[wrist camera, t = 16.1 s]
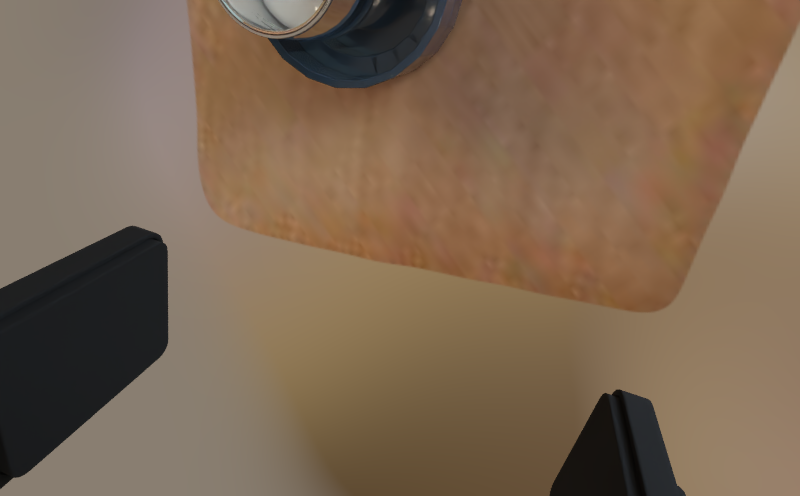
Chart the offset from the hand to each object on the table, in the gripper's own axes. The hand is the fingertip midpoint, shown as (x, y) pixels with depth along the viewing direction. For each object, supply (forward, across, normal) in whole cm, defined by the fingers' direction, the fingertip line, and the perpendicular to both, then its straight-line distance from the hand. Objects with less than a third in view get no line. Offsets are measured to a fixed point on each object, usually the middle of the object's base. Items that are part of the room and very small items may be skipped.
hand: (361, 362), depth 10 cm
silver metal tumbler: (+30, +11, -7) cm, 32 cm away
